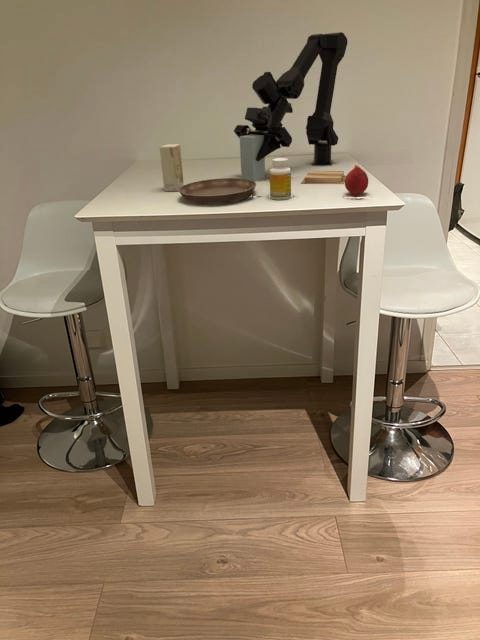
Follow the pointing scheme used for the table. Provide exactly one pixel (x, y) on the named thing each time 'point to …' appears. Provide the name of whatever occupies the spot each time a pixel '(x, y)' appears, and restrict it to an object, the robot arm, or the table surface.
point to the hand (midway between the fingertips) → (249, 159)
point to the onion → (356, 181)
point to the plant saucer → (217, 191)
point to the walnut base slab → (325, 183)
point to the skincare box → (171, 167)
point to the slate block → (251, 157)
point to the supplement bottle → (280, 179)
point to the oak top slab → (324, 177)
